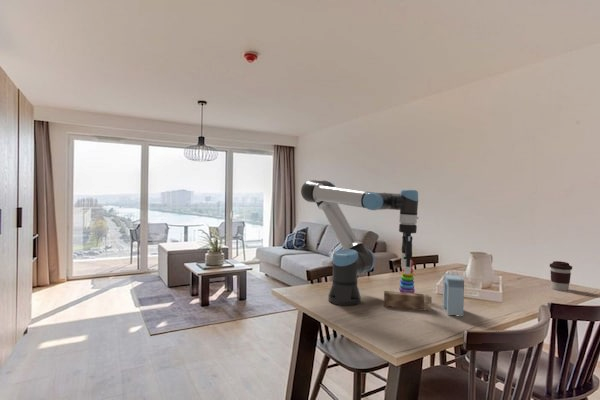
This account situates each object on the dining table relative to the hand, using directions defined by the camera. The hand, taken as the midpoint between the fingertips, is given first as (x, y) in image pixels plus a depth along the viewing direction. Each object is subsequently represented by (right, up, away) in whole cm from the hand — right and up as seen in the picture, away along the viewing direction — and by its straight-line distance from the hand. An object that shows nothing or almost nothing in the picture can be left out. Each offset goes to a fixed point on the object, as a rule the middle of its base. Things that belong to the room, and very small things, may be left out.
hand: (405, 270), depth 156 cm
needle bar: (0, -16, -3) cm, 16 cm away
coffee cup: (+95, -17, +33) cm, 102 cm away
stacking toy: (+5, -16, +16) cm, 23 cm away
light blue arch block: (+18, -16, -7) cm, 26 cm away
